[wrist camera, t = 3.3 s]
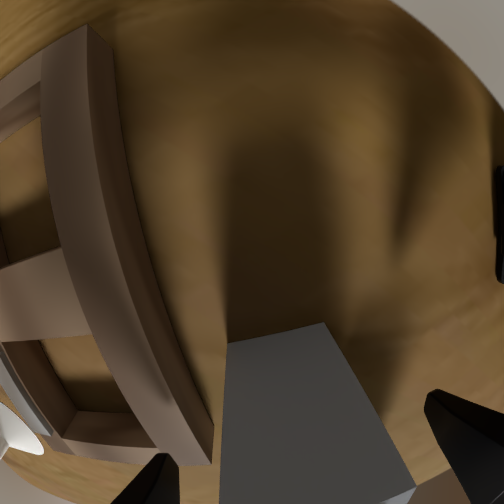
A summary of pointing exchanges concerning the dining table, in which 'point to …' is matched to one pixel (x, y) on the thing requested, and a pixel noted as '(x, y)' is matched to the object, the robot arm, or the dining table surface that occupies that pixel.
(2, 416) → the champagne flute
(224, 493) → the plug
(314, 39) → the dining table surface
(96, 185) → the brown wooden flat frame
